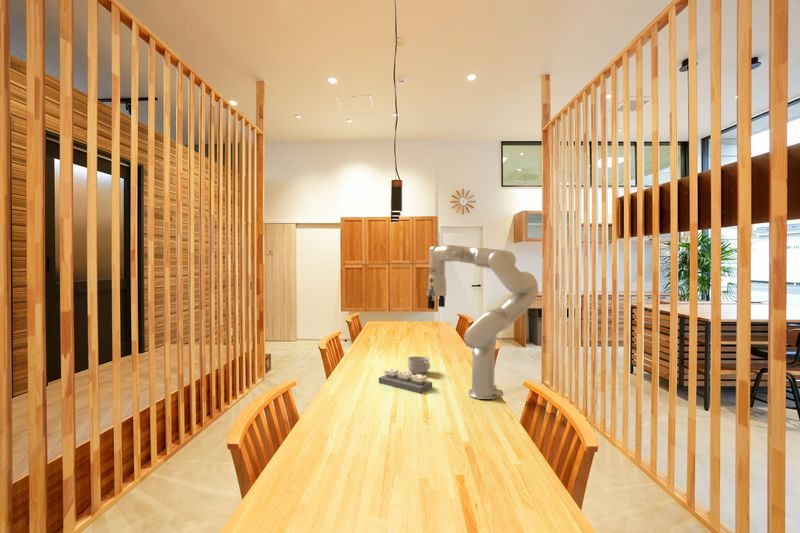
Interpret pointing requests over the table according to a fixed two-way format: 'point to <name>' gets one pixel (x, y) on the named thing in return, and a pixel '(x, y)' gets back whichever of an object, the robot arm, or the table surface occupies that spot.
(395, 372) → the button one
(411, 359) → the teacup
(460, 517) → the table surface
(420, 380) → the button two
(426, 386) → the button panel
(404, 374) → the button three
